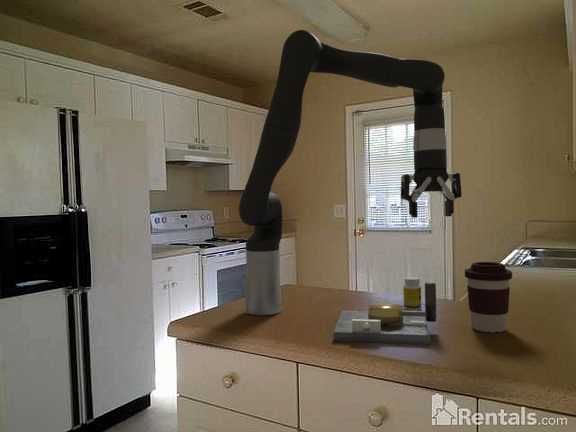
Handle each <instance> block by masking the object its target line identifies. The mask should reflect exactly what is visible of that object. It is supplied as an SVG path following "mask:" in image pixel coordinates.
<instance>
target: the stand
mask: <svg viewBox="0 0 576 432" xmlns="http://www.w3.org/2000/svg"><path fill="white" fill-rule="evenodd" d="M429 331H430V330H429V328H428V323H427V321H425V317H422V316H404V320H403V321H402V322H400V323H394V324H381V320H368V310H367V311H366V310H342V311H341V313H340V315H339V317H338V320H337V323H336V325H335V328H334V330H333V341H334V342H351V343H353V342H354V343H375V344H377V343H378V344H397V345H398V344H399V345H400V344H401V345H403V344H404V345H405V344H406V345H427V346H431V334H430V332H429Z"/></svg>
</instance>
